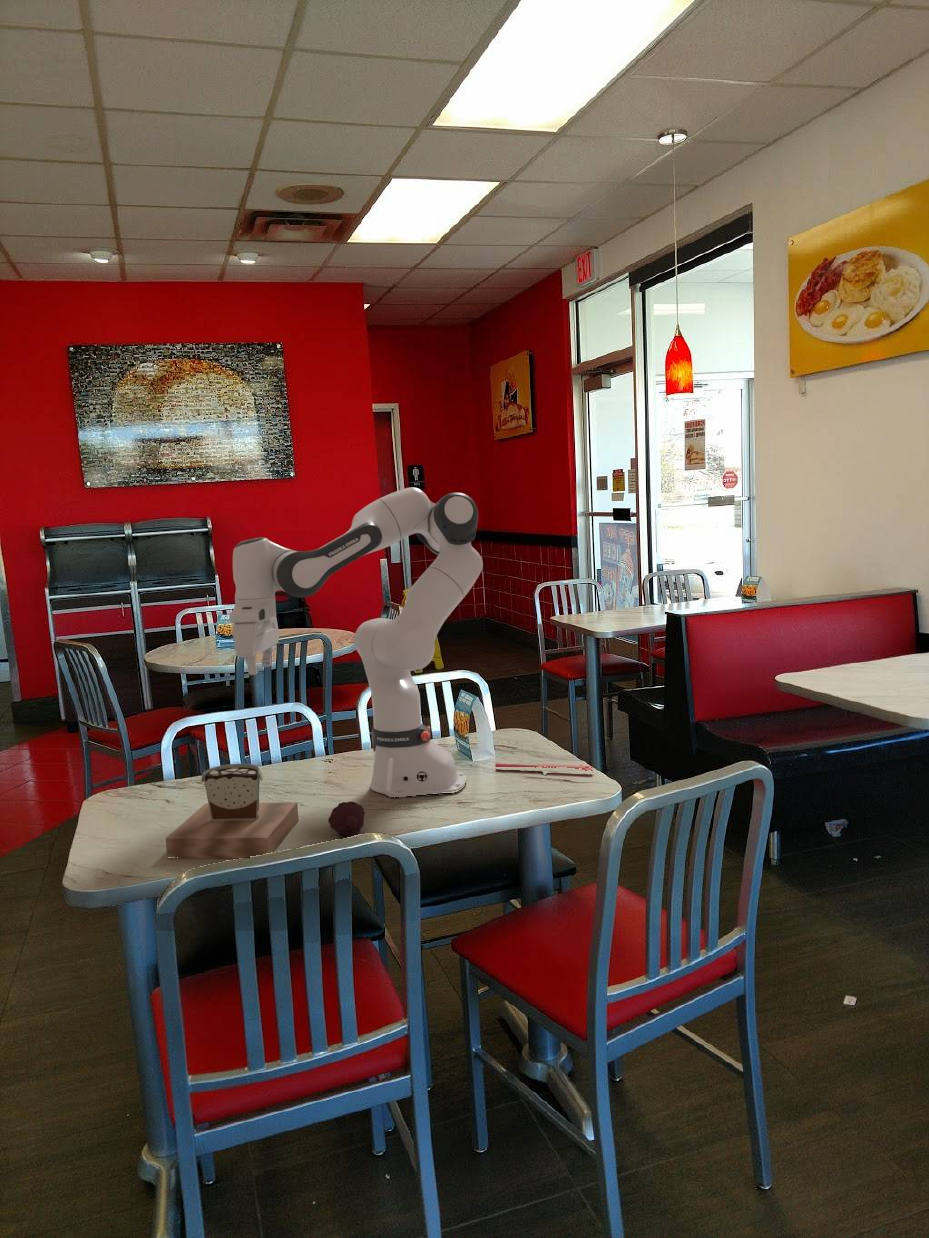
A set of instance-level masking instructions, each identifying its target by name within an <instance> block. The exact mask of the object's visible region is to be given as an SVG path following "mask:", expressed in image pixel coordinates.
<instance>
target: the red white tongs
mask: <svg viewBox="0 0 929 1238" xmlns="http://www.w3.org/2000/svg"><path fill="white" fill-rule="evenodd" d="M493 764H494V765H495V767H535V768H536V767H542V768H547V767H548V768H550V767H551V768H553V767H554V768H556V767H567V768H575V769H579V768H582V770H585V771H587V770H591V771H593V770H594V769H593V770H592V769H591V768H593V766H592V765H591V766H590V765H589V766H588V765H583V764H582V765H581V764H579V765H571V764H570V765H567V764H543V763H542V764H541V763H540V764H539V763H537V764H533V763H531V764H530V763H510V762H509V763H508V762H507V763H506V762H494V763H493ZM544 766H546V767H544ZM589 767H591V768H589ZM593 772H594V771H593Z"/></svg>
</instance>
